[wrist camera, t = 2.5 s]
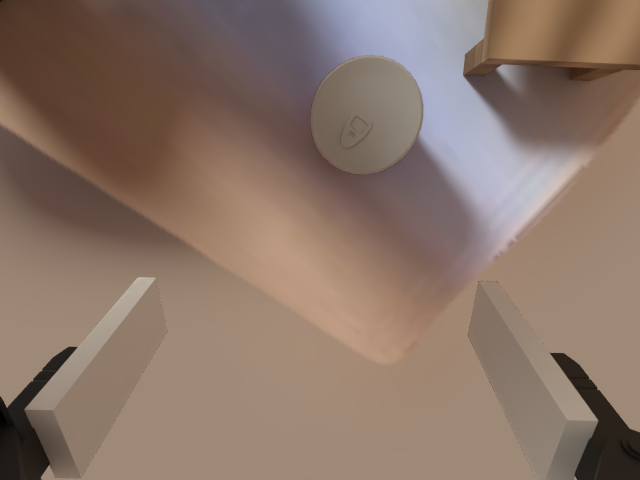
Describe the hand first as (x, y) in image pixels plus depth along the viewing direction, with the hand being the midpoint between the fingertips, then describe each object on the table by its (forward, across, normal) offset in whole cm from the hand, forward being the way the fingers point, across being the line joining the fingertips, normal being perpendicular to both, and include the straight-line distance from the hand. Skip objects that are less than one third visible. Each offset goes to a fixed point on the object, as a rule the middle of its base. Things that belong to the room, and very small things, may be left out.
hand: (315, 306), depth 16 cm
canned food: (+25, +3, +3) cm, 25 cm away
